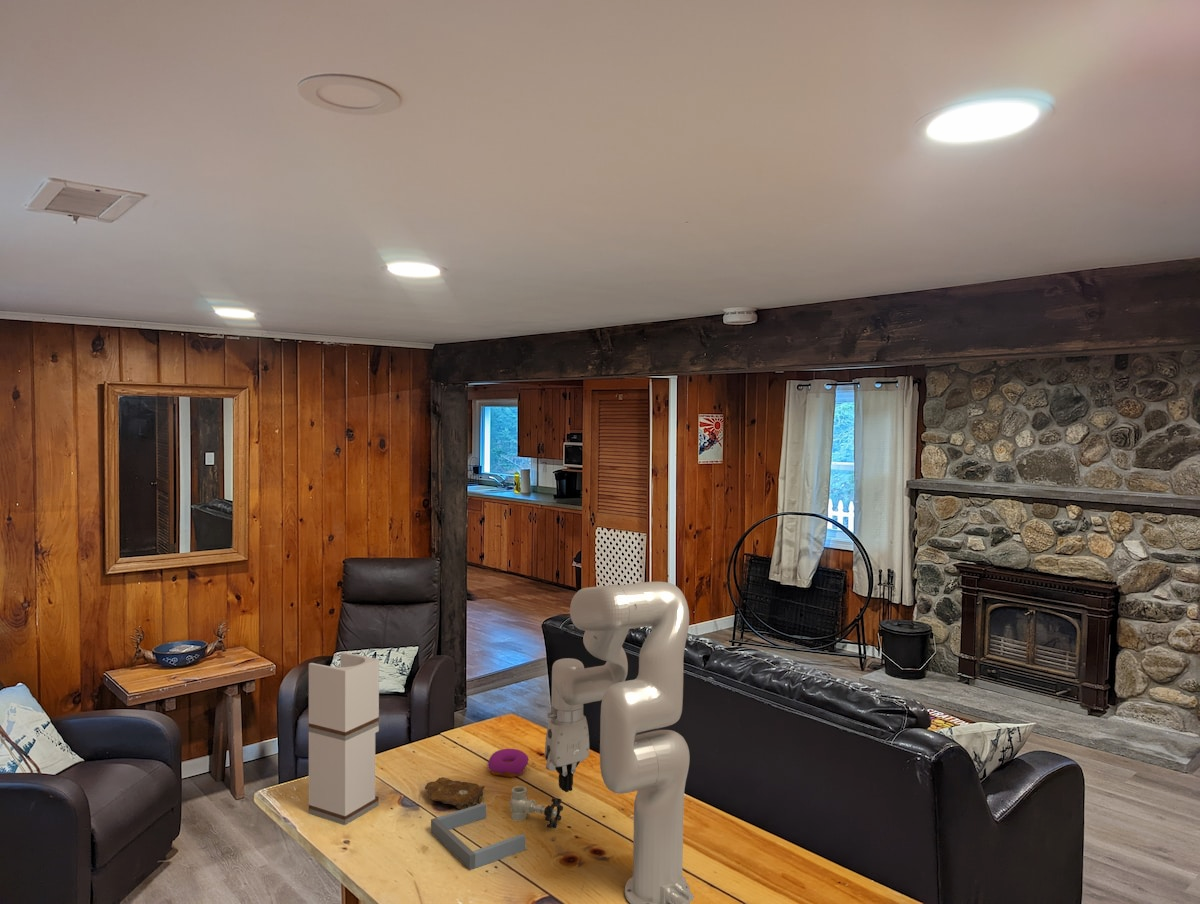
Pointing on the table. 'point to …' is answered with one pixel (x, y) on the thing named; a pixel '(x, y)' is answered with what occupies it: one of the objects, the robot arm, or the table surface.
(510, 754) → the donut
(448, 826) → the dock cradle
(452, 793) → the decorative rock
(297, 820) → the table surface
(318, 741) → the banded square pillar
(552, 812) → the valve
